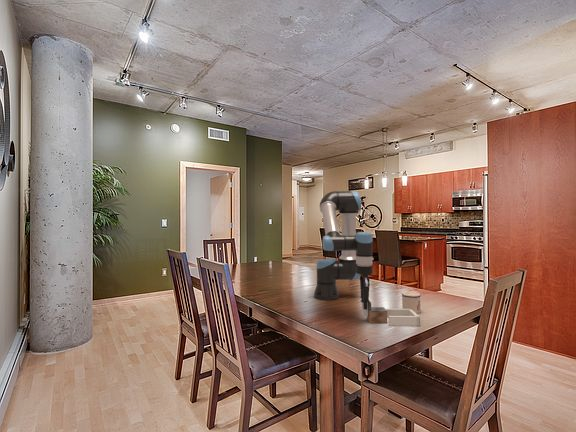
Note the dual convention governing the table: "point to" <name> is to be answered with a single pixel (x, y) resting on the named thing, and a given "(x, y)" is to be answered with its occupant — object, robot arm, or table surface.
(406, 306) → the teacup with lid
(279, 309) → the table surface
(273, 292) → the table surface
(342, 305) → the table surface
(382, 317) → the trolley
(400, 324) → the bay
